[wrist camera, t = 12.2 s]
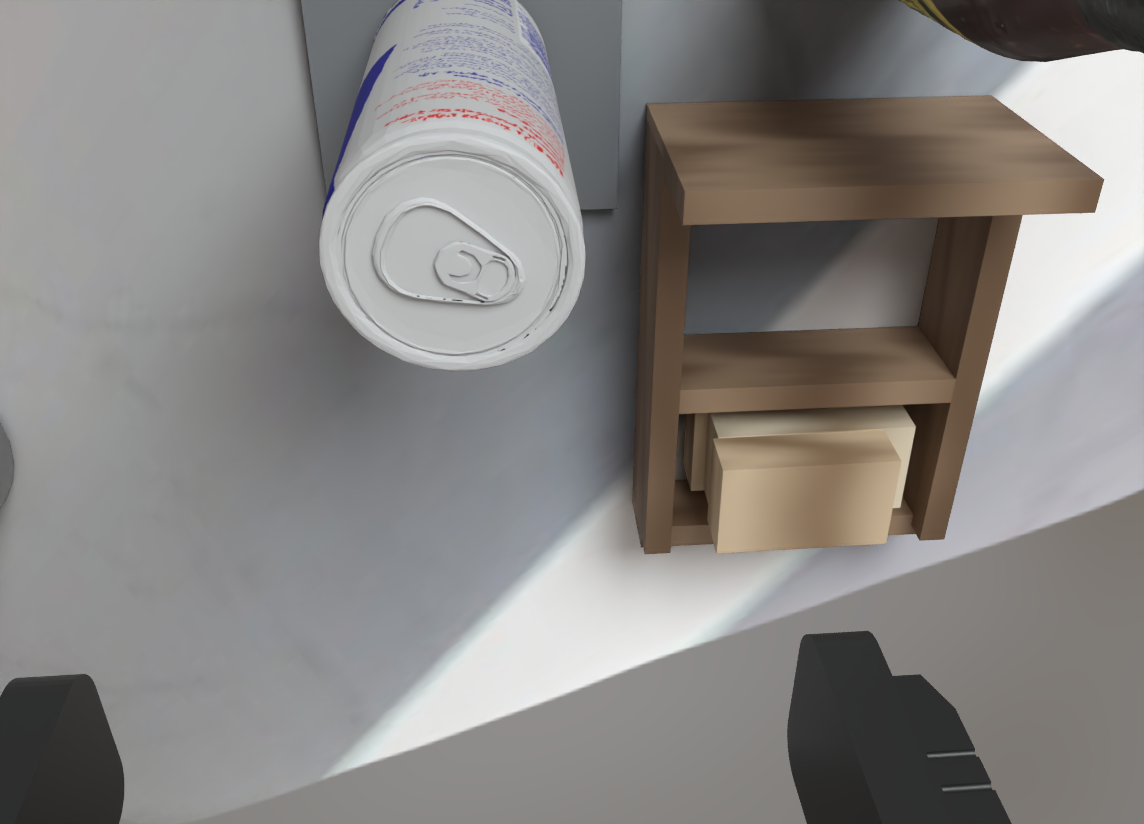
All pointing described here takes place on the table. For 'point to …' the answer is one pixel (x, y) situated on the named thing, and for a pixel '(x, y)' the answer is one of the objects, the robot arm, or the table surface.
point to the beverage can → (454, 191)
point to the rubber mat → (576, 58)
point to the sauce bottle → (1041, 25)
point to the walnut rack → (827, 193)
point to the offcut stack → (799, 475)
